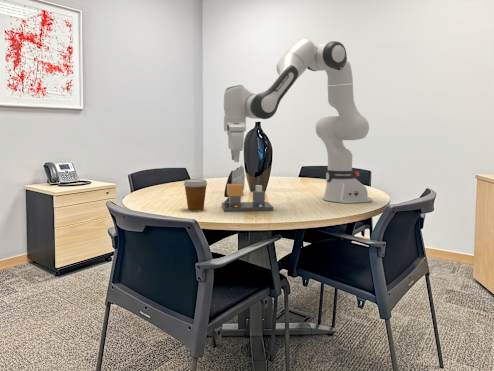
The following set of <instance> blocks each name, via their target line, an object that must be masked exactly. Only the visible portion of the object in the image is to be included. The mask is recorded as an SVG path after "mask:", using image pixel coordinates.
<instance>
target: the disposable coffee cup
mask: <svg viewBox="0 0 494 371" xmlns="http://www.w3.org/2000/svg"><path fill="white" fill-rule="evenodd" d="M183 185H184V189H185V191H184V192H185V198H186V205H187V210H188V211H191V212H201V211H204V209H205V200H206V198H205V197H206V191H207V185H208V182H207V180H206V179H203V178H202V179H201V178H196V179H195V178H193V179H192V178H191V179H186V180H184V183H183Z"/></svg>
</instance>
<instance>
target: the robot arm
mask: <svg viewBox="0 0 494 371" xmlns="http://www.w3.org/2000/svg"><path fill="white" fill-rule="evenodd" d="M347 54H348V53H347V49H346V48H345V46H344V43H342V42H340V41H333V40H332V41H329V42H324V43H320V44H317V45H315V43H314V42H313V41H312V40H311V39H308V38H303V39H300V40H298V41H297V42H296V43H294V44H293V45H291V47H290V48H288V50H286V51H285V53H283V55H282V56H281V57H280V58H279V60H278V62H277V64H276V72H277V75H278V76H277V78H275V80H274V82H273V83H272V84H271V85H270V86H269V88H267V89H266V90H265V91H262V92H260V93H254V92H252V91H250V90H248V89H247V88H246V87H245V86H244V85H241V84H239V85H233V86H229V87H227V88H225V90H224V94H223V110H224V116H223V131H224V132H226V135H227V137H228V141H227V142H228V144H227V145H228V146H227V147H228V149H230V154H231V160H232V161H234V162H235V163H239V162H240V154H241V152H242V151H243V149H244V141H245V132H246V131H247V118H249V119H261V120H268V119H271V118H272V117H273V116H274V115H275V114H276V112H277V110H278V108H279V104H280V102H281V100H282V99H283V97H284V96H286V94H287V93H288V91H289V89H291V87H292V86H293V85H294V83H295V82H296V80H297V79H299V78H300V77H301V76H302V75H303V74H304V72H305V71H306V70H307V69H308V70H309V71H310V72H317V71H321V72H322V71H325V73H326V75H327V101H328V104H329V106H330V107H331V108H334V109H335V110H336V111H337V113H338V116H336V115H333V116H331V115H330V116H326V117H322V118H319V119H318V120H317V122H316V125H315V134H316V135H317V137H318V138H320V140H321V141H322V142H323V144H324V146H325V148H326V152H327V170H326V174H325V179H326V180H325V181H326V187H325V192H324V194H323V198H322V199H323V200H325V201H326V202H333V203H340V204H341V203H342V204H355V203H356V204H359V203H371V202H373V198H372V197H370V196H369V194H368V188H367V187H366V186H365V185H364V184H363V183H362V182H360V181H359V180H358V179H357V178H356V177H359V176H360V172H359V171H355V170H354V169H353V153H352V151H351V150H350V149H348V148H346V146H345V145H344V141H356V140H357V141H358V140H361V139H365V138H366V137H367V135H368V134H369V131H370V125H369V121H368V120H367V118H366V117H364V116H363V115H362V114H361V113H360V111H359V110H358V108H357V106H356V103H355V98H354V82H353V81H354V80H353V79H354V77H353V72H352V67H351V66H352V65H351V62H350V61H349V60H348V57H347Z"/></svg>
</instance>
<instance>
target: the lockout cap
mask: <svg viewBox="0 0 494 371" xmlns="http://www.w3.org/2000/svg"><path fill="white" fill-rule="evenodd" d="M227 195H228V196H241V197H243V196H244V190H243V185H242V184H227Z"/></svg>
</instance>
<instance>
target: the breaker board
mask: <svg viewBox="0 0 494 371" xmlns="http://www.w3.org/2000/svg"><path fill="white" fill-rule="evenodd" d="M265 195H266V192H265V191H264V190H262V192H255V190H253V191H252V201H248V202H247V201H242V200H241V199H242V196H229V197H228V202H221V208H222V211H223V213H229V212H230V213H231V212H233V213H235V212H236V213H237V212H239V213H240V212H242V213H243V212H274V206H273V205H272V204H271V203H270V202H268V201H266V196H265Z"/></svg>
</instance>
